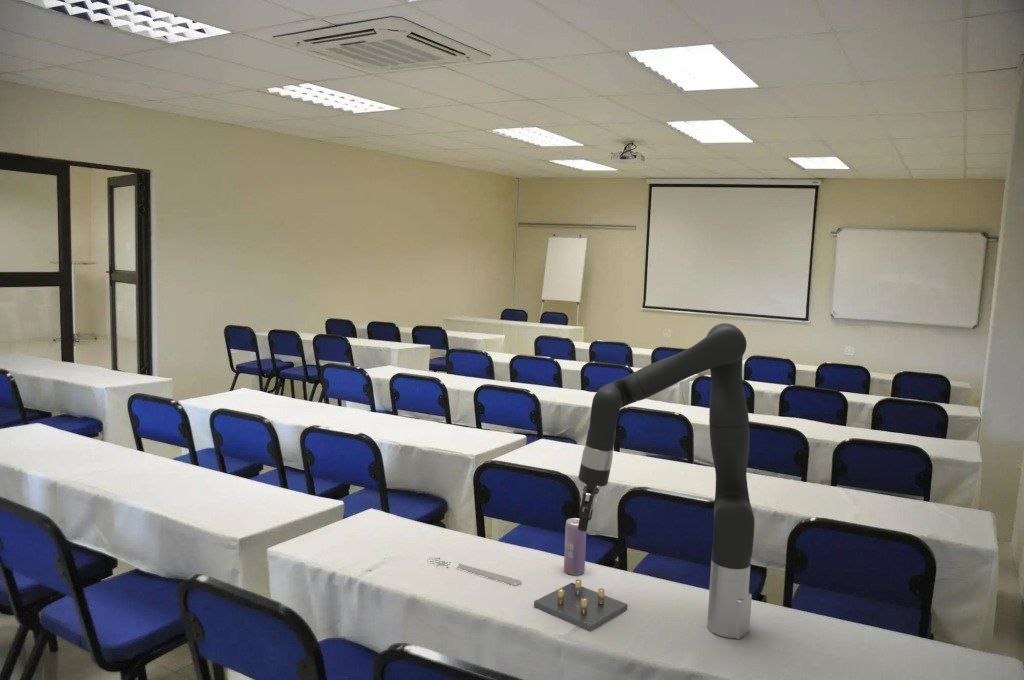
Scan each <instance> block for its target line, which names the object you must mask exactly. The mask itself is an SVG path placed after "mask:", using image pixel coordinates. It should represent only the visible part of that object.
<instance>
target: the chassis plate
mask: <svg viewBox="0 0 1024 680" xmlns="http://www.w3.org/2000/svg"><path fill="white" fill-rule="evenodd" d="M582 582H583V581H582V580H581V579H576V580H575V581H574V582H569V583H568V584H566V585H564V586H562V587H560V588H558V589H556V590H554V591H552V592H550V593H548V594H546V595H544V596H542V597H540V598H538V599H536V600H534V601H533V608H536V609H538V610H540V611H543V612H545V613H547V614H549V615H552V616H554V617H557V618H559V619H561V620H564V621H565V622H568V623H570V624H572V625H574V626H577V627H579V628H581V629H584V630H586V631H588V632H593V631H594V630H596V629H597V628H599V627H601V626H603V625H604V624H605V623H608V622H609V621H611V620H613V619H614V618H616V617H618V616H619V615H621V614H622V613H625V612H626V611H627V610H628V605H629V604H628V603H625V602H623V601H620V600H618V599H615V598H613V597H611V596H607V595H606V594H605V590H606V589H604V588H602V587H601V588H598V592H597V591H594V590H592V589H590V588H587V587H584V586H583V585H582Z"/></svg>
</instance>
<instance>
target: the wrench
mask: <svg viewBox="0 0 1024 680" xmlns="http://www.w3.org/2000/svg"><path fill="white" fill-rule="evenodd" d="M428 559H429V560H430V559H432V560H433V559H434V558H428ZM434 560H435V561H439V560H440V559H434ZM430 562H434V561H430ZM440 562H442V563H440ZM435 563H437V564H438V565H436V568H437V567H443V566H448V565H450V564H447V563H448V562H446V563H445V561H439V562H435ZM449 563H451V562H449ZM445 564H447V565H445ZM458 565H459V566H458V567H457V568H460V569H462V570H466V571H468V572H472V573H475V574H478V575H482V576H485V577H488V578H491V579H495V580H498V581H501V582H504V583H506V584H505V585H508V584H509V585H508V586H511V585H512V586H511V587H520V586H521V585H522V584H523V583H522V581H521V580H520V579H517V578H513V577H509V576H505V575H501V574H499V573H495V572H493V571H492V572H491V571H487V570H485V569H480V568H478V567H477V568H476V567H473V566H469V565H466V564H462V563H459V564H458ZM462 570H461V571H462ZM468 572H467V573H468ZM472 573H471V574H472ZM475 574H474V575H475ZM478 575H477V576H478ZM485 577H484V578H485ZM488 578H487V579H488ZM491 579H490V580H491ZM498 581H497V582H498ZM501 582H500V583H501ZM504 583H503V584H504ZM519 585H520V586H519Z"/></svg>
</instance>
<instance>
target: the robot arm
mask: <svg viewBox="0 0 1024 680" xmlns="http://www.w3.org/2000/svg"><path fill="white" fill-rule="evenodd" d="M746 350H747V339H746V337H745V335H744V333H743V332H742V330H741V329H740V328H739V327H737V326H736V325H734V324H732V323H727V322H725V323H724V322H723V323H719V324H716V325H715V326H713V327H712V328H711V329H710V330H709V331H708V333H707V334H706V336H705V337H704V338H703V339H701V340H699V341H698V342H697V343H695V344H694V345H692V346H690V347H688V348H687V349H685V350H682V351H680V352H678V353H675V354H673V355H670V356H669V357H665V358H663V359H660V360H657V361H655V362H653V363H650V364H648V365H646V366H643V367H642V368H640V369H638V370H636V371H634V372H632V373H630V374H629V375H628V376H625V377H622V378H619V379H617V380H615V381H611V382H610V383H608V384H607V383H606V384H605V385H603V386H601V387H600V388H599V389H598V390H597V391H596V393H595V394H594V396H593V398H592V403H591V409H590V420H589V426H588V429H587V434H586V441H585V445H584V448H583V451H582V456H581V462H580V466H579V472H578V476H577V478H578V480H579V481H580V482H581V483H583V484H585V485H584V486H583V488H582V491H581V500H580V505H579V506H580V509H579V512H578V516H579V519H580V520H579V525H578V530H580V531H584V532H586V533H587V530H588V525H589V521H592V516H593V513H594V508H595V505H596V502H597V501H598V497H599V494H600V490H601V489H600V488H599V487H601V488H602V487H605V486H607V485H608V483H609V479H610V474H611V468H612V462H613V456H614V447H615V442H616V436H617V430H616V428H617V423H618V419H619V416H620V411H621V409H622V408H625V407H626V406H628V405H630V404H632V403H634V402H637V401H643V400H645V399H648V398H649V397H652V396H655V395H656V394H658V393H660V392H661V391H664V390H666V389H669V388H670V387H672V386H674V385H676V384H678V383H681V381H684V380H686V379H688V378H690V377H692V376H693V377H694V376H695V375H697V374H700V373H702V372H705V371H707V370H710V372H709V373H710V393H709V394H710V396H709V411H708V412H709V413H708V415H709V439H710V448H711V449H710V450H711V456H712V460H713V464H714V471H715V491H714V503H713V504H714V505H713V532H712V533H713V534H712V547H711V555H710V556H711V558H710V559H711V560H710V574H709V575H710V577H709V589H708V590H709V591H708V607H707V617H706V618H707V628H708V630H709V632H711V633H713V634H715V635H717V636H720V637H723V638H730V639H731V638H732V639H736V640H741V638H743V637H744V636H745V635H746V634H748V633H749V632H750V627H751V614H752V613H751V612H752V598H753V597H752V596H753V595H752V594H751V593H750V577H751V575H750V574H751V564H752V563H751V562H752V556H753V551H754V550H753V549H754V548H753V547H754V538H755V537H754V536H755V522H756V521H755V515H754V512H753V509H752V508H753V507H752V505H751V500H750V493H749V487H748V481H747V480H748V477H747V470H748V463H749V456H750V439H751V438H750V437H751V436H750V418H749V417H750V416H749V410H748V405H747V404H748V403H747V399H746V393H745V390H744V384H743V358H744V357H743V356H744V354H745V352H746Z"/></svg>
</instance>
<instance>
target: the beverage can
mask: <svg viewBox="0 0 1024 680" xmlns="http://www.w3.org/2000/svg"><path fill="white" fill-rule="evenodd" d="M579 520H580V517H579V518H577V517H572V518H568V519H567V520H566V523H565V533H564V554H563V555H564V557H563V558H564V559H563V569H564V570H563V571H564V572H565V573H566V574H568V575H570V576H581V575H582V574H584V573H585V570H586V569H585V567H586V549H587V547H586V545H587V543H586V542H587V531H586V532H584V531H580V530H578V525H579Z"/></svg>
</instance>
